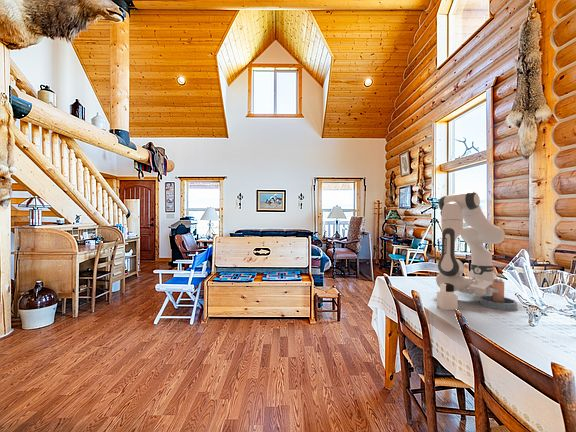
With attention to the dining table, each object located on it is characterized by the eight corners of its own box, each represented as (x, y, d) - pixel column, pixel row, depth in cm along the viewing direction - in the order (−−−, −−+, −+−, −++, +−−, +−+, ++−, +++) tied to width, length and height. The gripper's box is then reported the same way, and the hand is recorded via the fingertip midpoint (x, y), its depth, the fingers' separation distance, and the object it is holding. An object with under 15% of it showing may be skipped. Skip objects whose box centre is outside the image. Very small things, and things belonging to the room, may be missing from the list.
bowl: (487, 299, 165) (487, 294, 165) (521, 306, 153) (521, 300, 153) (475, 304, 156) (475, 298, 156) (510, 312, 144) (510, 306, 144)
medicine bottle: (451, 306, 154) (451, 282, 154) (457, 310, 147) (457, 285, 147) (436, 305, 155) (436, 282, 154) (442, 309, 147) (442, 285, 147)
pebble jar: (494, 299, 158) (494, 277, 158) (505, 301, 154) (505, 278, 154) (490, 300, 155) (490, 278, 155) (501, 303, 151) (502, 280, 151)
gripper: (464, 282, 155) (496, 287, 146) (473, 276, 170) (503, 280, 161) (464, 294, 156) (496, 300, 146) (473, 287, 170) (503, 292, 161)
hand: (500, 289), depth 154 cm, fingers closed on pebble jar, 5 cm apart
